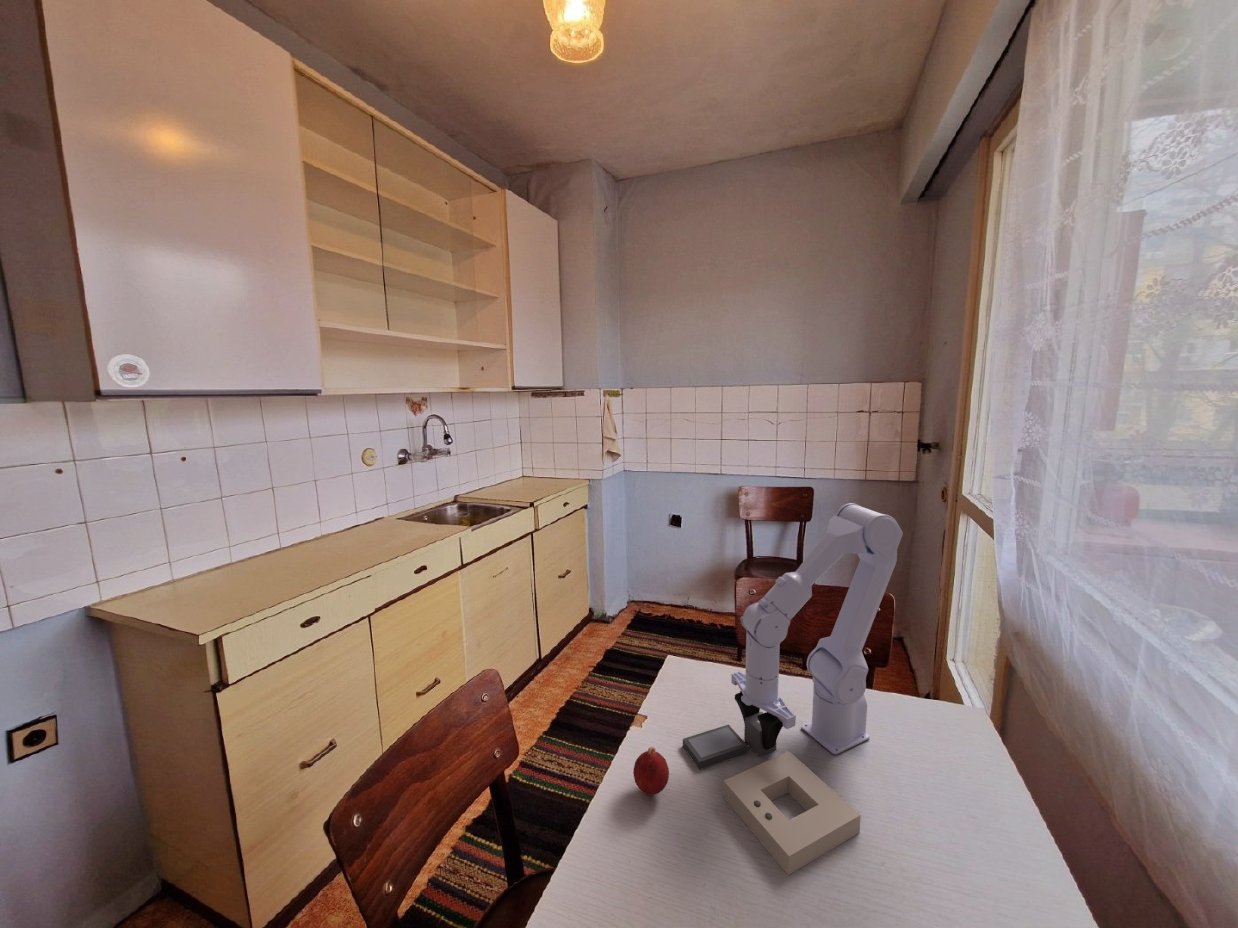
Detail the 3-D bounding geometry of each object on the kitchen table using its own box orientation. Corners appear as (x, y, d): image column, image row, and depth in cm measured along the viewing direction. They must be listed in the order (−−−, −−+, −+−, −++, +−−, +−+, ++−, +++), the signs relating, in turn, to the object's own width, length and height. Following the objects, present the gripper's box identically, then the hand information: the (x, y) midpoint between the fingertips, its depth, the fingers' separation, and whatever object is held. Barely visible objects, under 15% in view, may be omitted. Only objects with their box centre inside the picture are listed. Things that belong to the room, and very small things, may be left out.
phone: (728, 733, 91) (728, 723, 91) (747, 755, 86) (747, 745, 86) (682, 748, 88) (682, 738, 88) (699, 772, 82) (699, 761, 82)
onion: (667, 810, 74) (666, 765, 73) (630, 804, 75) (630, 760, 74) (670, 780, 80) (670, 738, 79) (636, 775, 81) (636, 733, 80)
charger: (760, 735, 90) (761, 710, 89) (776, 749, 86) (776, 724, 86) (744, 742, 88) (744, 717, 88) (759, 756, 85) (759, 731, 84)
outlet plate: (788, 766, 82) (789, 750, 82) (859, 832, 70) (860, 813, 69) (723, 796, 77) (723, 779, 76) (788, 875, 64) (789, 855, 64)
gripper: (719, 656, 90) (718, 721, 92) (774, 700, 77) (771, 774, 79) (748, 647, 93) (746, 710, 95) (806, 688, 80) (802, 759, 82)
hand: (760, 738), depth 87 cm, fingers closed on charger, 4 cm apart
